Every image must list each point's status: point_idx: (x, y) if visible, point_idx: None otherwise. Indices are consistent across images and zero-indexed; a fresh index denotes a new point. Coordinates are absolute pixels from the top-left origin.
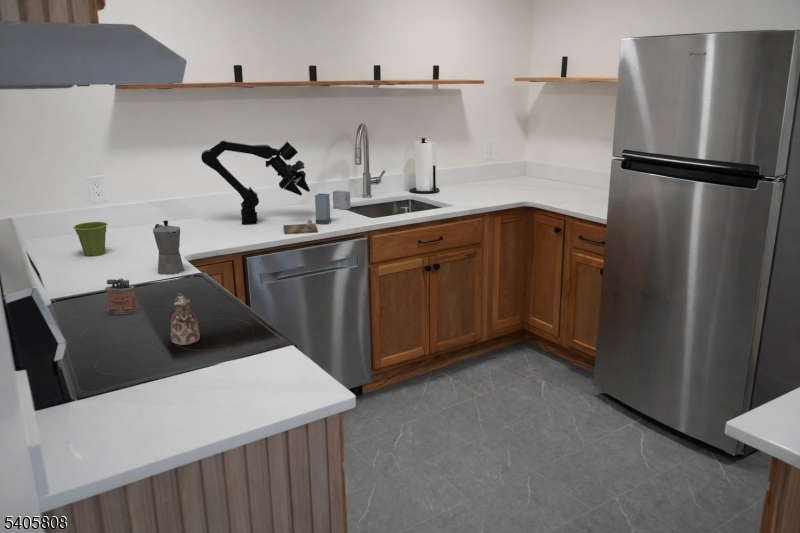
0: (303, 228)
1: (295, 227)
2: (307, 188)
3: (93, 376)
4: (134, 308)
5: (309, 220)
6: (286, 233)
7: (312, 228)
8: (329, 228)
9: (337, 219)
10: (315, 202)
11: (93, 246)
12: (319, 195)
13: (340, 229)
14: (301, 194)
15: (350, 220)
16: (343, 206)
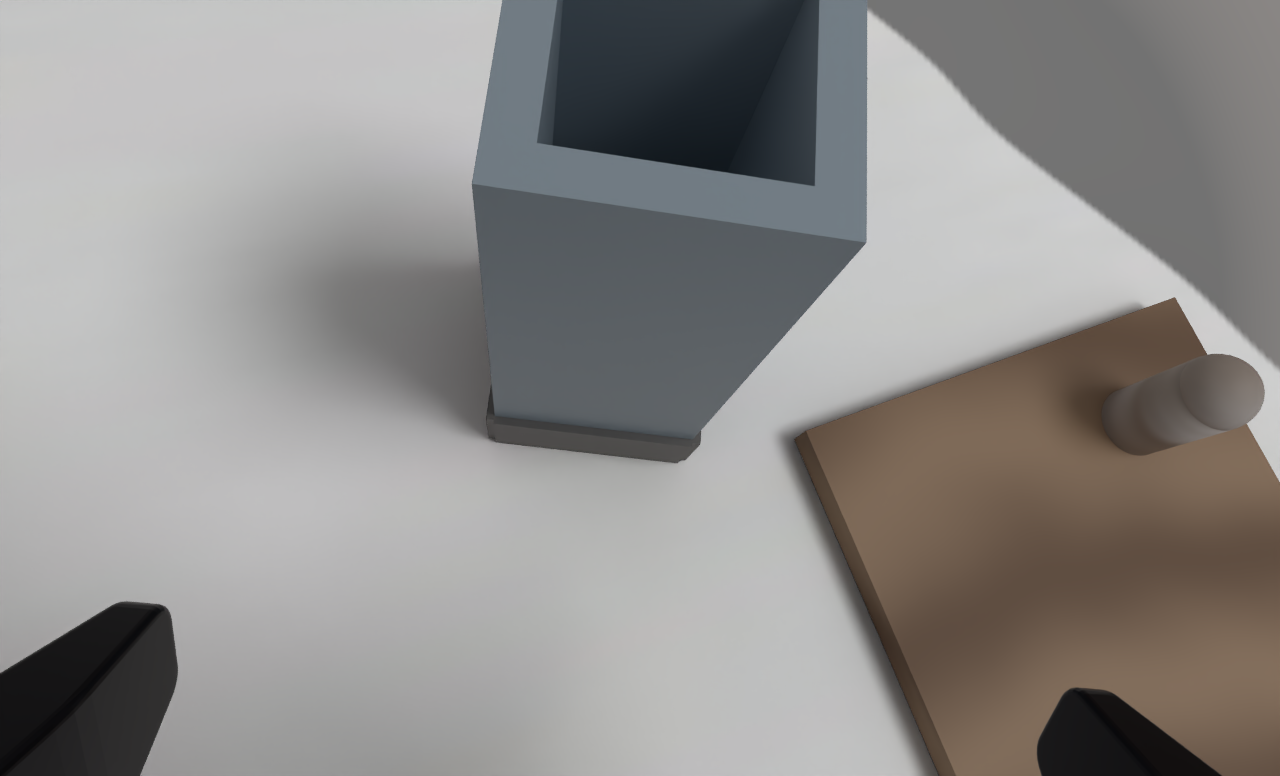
0: (1151, 520)
1: (1134, 672)
2: (83, 745)
3: None
4: None
5: (1259, 378)
6: None
7: (1110, 388)
8: (908, 208)
9: (321, 198)
10: (790, 321)
11: None
12: (846, 100)
13: (926, 72)
14: (1093, 713)
15: (386, 15)
16: None
